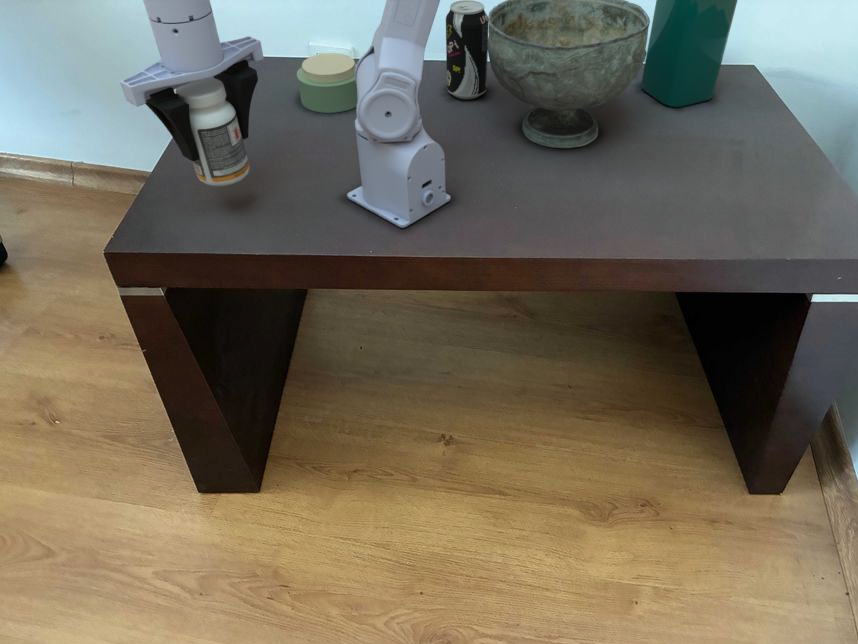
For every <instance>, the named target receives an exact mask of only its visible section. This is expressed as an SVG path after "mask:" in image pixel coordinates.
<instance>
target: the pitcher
mask: <svg viewBox="0 0 858 644" xmlns="http://www.w3.org/2000/svg"><path fill="white" fill-rule="evenodd" d="M738 2H739V1H738V0H656V1H655V5H654V10H653V17H652V23H651V28H650V34H649V40H648V45H647V49H646V57H645V61H644V65H643V66H644V67H643V73H642V78H641V83H640V86H641V89H642V91H644V92H645V93H646V94H648V95H650V96H651V97H652V98H654V99H655V100H656V101H658V102H659V103H661V104H662V105H665V106H667V107H670V108H682V107H685V106H690V105H694V104H698V103H702V102H707V101H709V100H711V99H712V98H713V97H714V95H715V90H716V86H717V82H718V79H719V75H720V71H721V67H722V63H723V59H724V55H725V51H726V47H727V43H728V39H729V36H730V32H731V28H732V24H733V21H734V16H735V12H736V8H737V4H738Z"/></svg>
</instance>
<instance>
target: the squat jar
mask: <svg viewBox="0 0 858 644" xmlns="http://www.w3.org/2000/svg"><path fill="white" fill-rule="evenodd" d="M355 61H356V60H355V59H354V58H353V57H351V56H349V55H346V54H344V53H337V52H323V53H319V54H315V55H312V56H309V57H307V58H306V59H304V60H303V62H302V63H301V67H299V69H297V72H296V81H297V85H298V86H297V87H298V91H299V97H300V103H301V105H302V106H303V107H304V108H306V109H308V110H309V111H312V112H315V113H316V112H317V113H323V114H336V113H342V112H346V111H351V110H353V109H355V108H356V107H357V102H358V100H357V85H356V82H355V69H356V66H357V63H356V62H355Z"/></svg>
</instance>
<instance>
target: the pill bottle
mask: <svg viewBox="0 0 858 644" xmlns="http://www.w3.org/2000/svg"><path fill="white" fill-rule="evenodd" d="M175 93H176V94H178V95H179V99H180V100H182V101H184V102H186V103H188V104H189V115H190V124H191V129H192V134H193V137H194V140H195V143H196V147H197V150H198V155H199V160H196V161H191V162H192V166H193V168H194V171H195V175H196V176H197V178H198V180H199V181H200V182H202V183H203V184H205V185H207V186H212V187H225V186H230V185H233V184H237V183H239V182H240V181H242V180H243V179H244V178H245V177H247V176H248V174H249V172H250V162H249V159H248V155H247V151H246V147H245V146H246V145H245V144H244V143H245V142H244V140H243V138H242V135H241V131H240V127H239V123H238V119H237V115H236V112H235V109H234V107H233V106H232V105H231V104H230V103H229V102H228V101H226V100H225V99H226V91H225V88H224V85H223V83H222V82H221V81H220V80H218V79H215V78H214V77H210V78H206V79H202V80H198V81H196V82H193V83H190V84H188V85H185V86H182V87H179V88H177V89H175Z"/></svg>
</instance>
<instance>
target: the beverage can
mask: <svg viewBox="0 0 858 644" xmlns="http://www.w3.org/2000/svg"><path fill="white" fill-rule="evenodd" d="M488 16H489V15H488V14H487V13H486V11H485V5H484V3H482V2H480V1H477V0H457V1H454V2H452V3H451V4H450V5H449V11H448V13H447V14H446V16H445V44H446V45H445V51H446V52H445V54H446V57H445V58H446V61H445V62H446V90H447V92H448V93H449V94H451V95H452V96H454V97H455V98H456V99H457V98H458V99H460V100H473V99H474V100H475V99H477V98H478V97H480V96H482V95H483V94H485V93H486V92H487V89H488V60H489V54H488V45H487V43H488V37H489V23H488Z"/></svg>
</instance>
